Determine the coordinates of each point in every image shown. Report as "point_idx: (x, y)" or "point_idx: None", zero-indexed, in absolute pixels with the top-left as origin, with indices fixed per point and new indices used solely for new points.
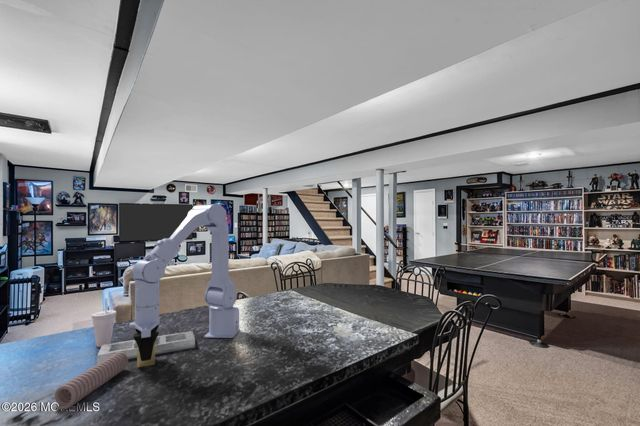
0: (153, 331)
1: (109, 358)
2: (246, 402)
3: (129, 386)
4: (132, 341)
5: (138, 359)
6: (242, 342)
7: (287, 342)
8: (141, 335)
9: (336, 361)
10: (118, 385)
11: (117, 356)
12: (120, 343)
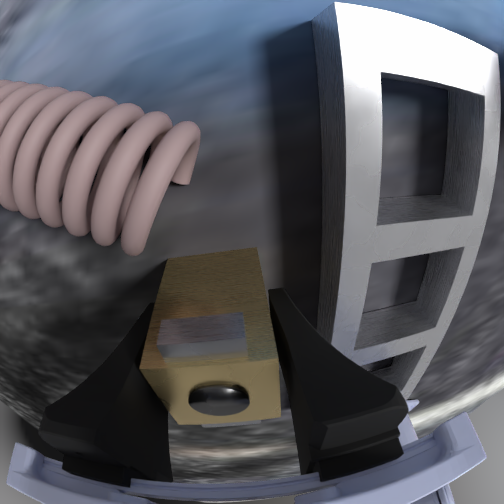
0: (297, 441)
1: (40, 168)
2: (24, 415)
3: (12, 265)
4: (473, 211)
5: (162, 291)
6: (277, 452)
7: (235, 476)
8: (12, 455)
9: None
10: (14, 224)
11: (66, 218)
12: (482, 147)
